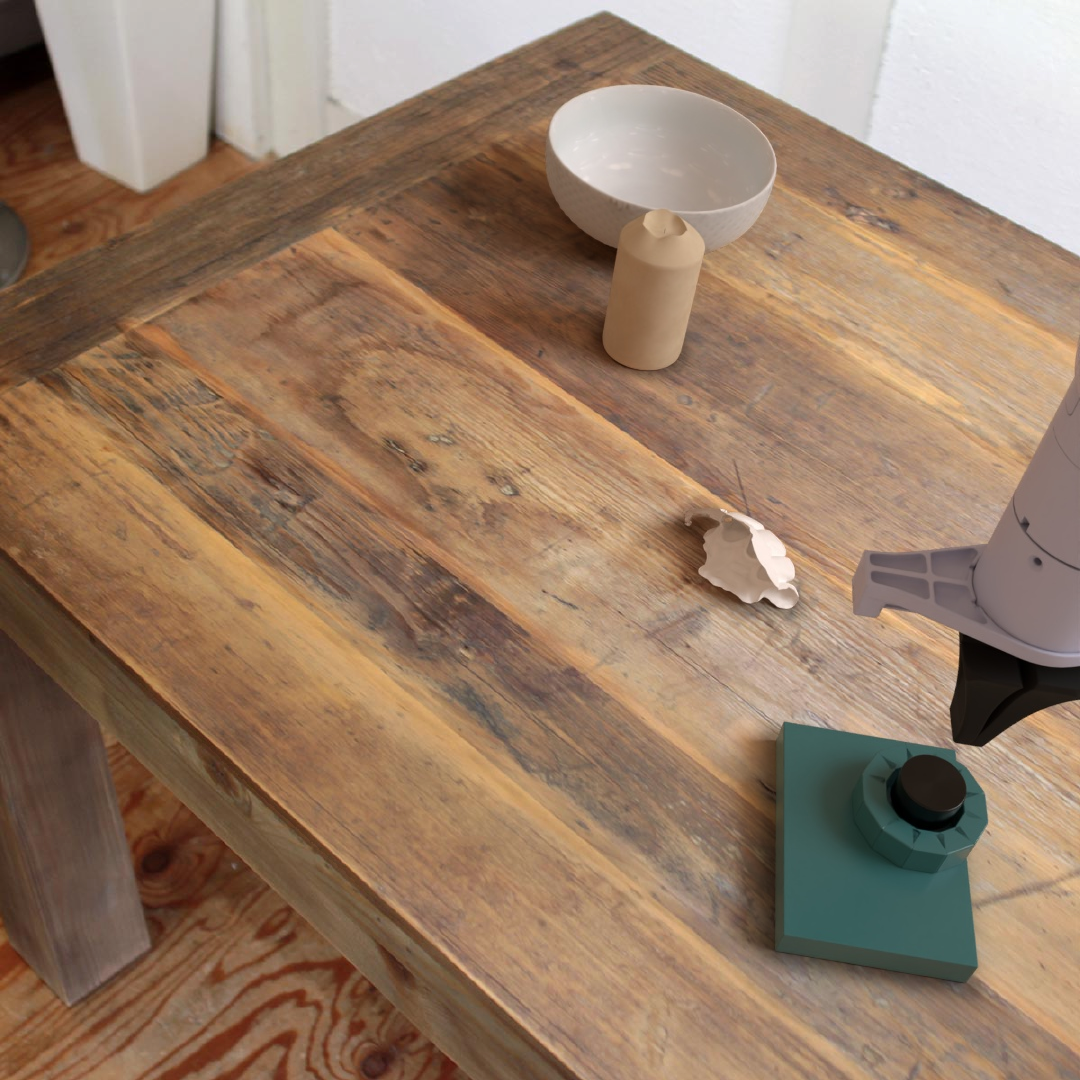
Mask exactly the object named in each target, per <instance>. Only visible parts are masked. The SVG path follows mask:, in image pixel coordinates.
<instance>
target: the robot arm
mask: <svg viewBox="0 0 1080 1080" xmlns="http://www.w3.org/2000/svg"><path fill="white" fill-rule="evenodd" d="M851 596H852V609H853V611H852V613H853V615H855V616H859V617H867V618H873V619H875V618H878V617H879V616H880V615H881V613H882V611H883V609H888V610H893V611H899V612H900V611H901V612H907V613H913V614H917V615H920V616H921V617H924V618H927V619H928V620H931V621H934V622H936V623H938V624H940V625H943V626H945V627H947V628H949V629H952V630H954V631H956V632H958V646H959V647H958V651H959V652H958V666H957V667H958V668H957V675H956V681H955V685H954V686H955V687H954V691H953V695H952V699H951V702H950V706H949V719H950V729H951V737H952V742H953V743H954V744H959V745H964V746H971V747H976V748H983V747H984V746H986V745H987V744H988V743H990V742H992V741H993V740H994V739H996V738H997V737H998V736H999V735H1001V734H1002V733H1004V732H1005V731H1007V730H1008V729H1009V728H1012V726H1014V725H1016V724H1017V723H1019V722H1020V721H1022V720H1024V719H1025V718H1028V717H1029V716H1032V715H1034V714H1035V713H1038V712H1040V711H1043V710H1045V709H1048V708H1051V707H1053V706H1057V705H1061V704H1064V703H1065V704H1066V703H1069V702H1074V701H1080V335H1079V336H1078V340H1077V346H1076V351H1075V359H1074V376H1073V378H1072V380H1071V382H1070V384H1069V386H1068V388H1067V390H1066V392H1065V393H1064V396H1063V397H1062V399H1061V401H1060V403H1059V405H1058V407H1057V409H1056V411H1055V413H1054V415H1053V417H1052V419H1051V421H1050V422H1049V425H1048V427H1047V428H1046V430H1045V432H1044V434H1043V436H1042V438H1041V440H1040V442H1039V444H1038V446H1037V447H1036V450H1035V451H1034V453H1033V455H1032V457H1031V459H1030V461H1029V462H1028V464H1027V466H1026V469H1025V471H1024V473H1023V474H1022V476H1021V478H1020V480H1019V482H1018V484H1017V486H1016V488H1015V490H1014V492H1013V494H1012V496H1011V498H1010V499H1009V502H1008V504H1007V505H1006V507H1005V509H1004V511H1003V512H1002V515H1001V517H1000V519H999V521H998V522H997V524H996V526H995V529H994V530H993V532H992V534H991V535H990V538H989V540H988V542H987V543H981V544H973V545H972V544H970V545H961V546H953V547H951V546H950V547H943V548H933V549H923V550H914V551H899V552H898V551H897V552H894V551H893V552H892V551H891V552H890V551H878V550H871V549H864V550H863V552H862V554H861V557H860V559H859V562H858V564H857V567H856V569H855V571H854V574H853V576H852V579H851Z"/></svg>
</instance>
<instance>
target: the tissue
mask: <svg viewBox="0 0 1080 1080" xmlns="http://www.w3.org/2000/svg"><path fill="white" fill-rule="evenodd" d="M682 513H683V514H684V517H685V518H684V525H685V526H686V527H690V526H692V524H693V522H692V518H693V516H694V515H699V514H702V515H708V517H709V518H710V519H712V520H715V521H716V522H718V523H719V525H717V526H714V527H712V528H710V529H707V531H706V532H704V534H703V537H702V538H703V539H704V543H703V544H702V547H703V550H704V552H705V553H706V560H705V562H704V564H703V565H701V566H700V567H699V568H698V570H697V571H698V575H699V576H701V577H703V578H704V579H707V581H709V582H710V583H711V585H712V586H715V587H720V588H721V589H723V590H724V591H728V592H731V593H732V594H733V595H735V596H737V597H738V599H740V600H741V602H743V603H747V604H754V603H757V602H760V601H761V600H762V599H763V598H766V599H768V600H769V601H770V602H771V603H772V604H773V605H774V606H776V607H777V608H780V609H784V610H789V609H791V608H793V607H795V606H796V605H797V603H798V601H799V599H800V596H799V592H798V590H797V588H796V587H795V586H794V585H793V584H792V583H790V582H792V581H794V579H795V577H796V571H795V570H796V569H795V565H794V564H793V561H792V560H791V559H790V558H789V557H788V556H786V555H787V549H786V547H785V545H784V543H783V542H782V540H781V539H779V538H778V536H777V535H775V534H774V533H773V532H772V531H771V530H769V529H766V528H765V526H764V525H763V524H762V523H761V522H759V521H758V520H756V519H754V518H753V517H751V516H748V515H745V514H743V513H739V512H736V511H729V512H728V510H727V509H724V508H715V507H705V508H704V507H703V508H702V507H701V508H700V507H699V508H689V509H685V510H684V511H681V514H682ZM728 518H729V519H731V521H726V522H725V519H728Z"/></svg>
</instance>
